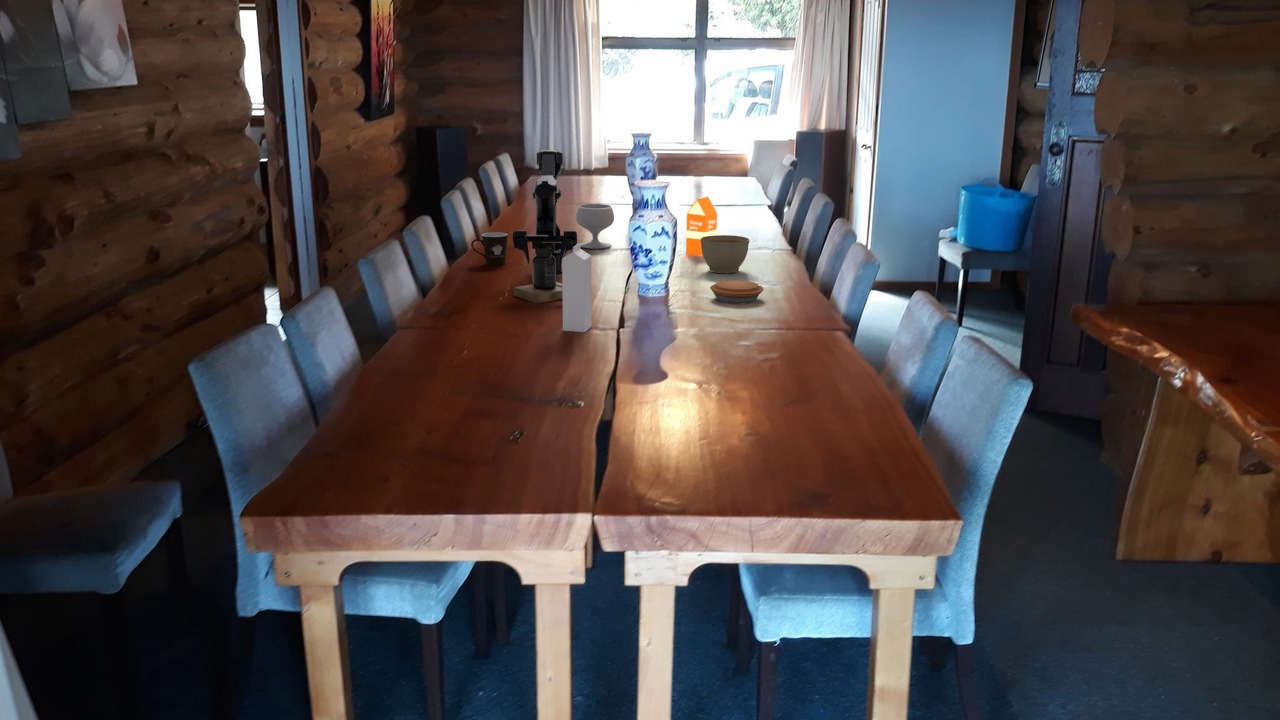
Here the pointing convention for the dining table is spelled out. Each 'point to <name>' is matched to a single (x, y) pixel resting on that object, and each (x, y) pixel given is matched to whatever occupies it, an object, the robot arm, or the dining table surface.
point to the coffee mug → (493, 248)
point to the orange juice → (700, 224)
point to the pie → (736, 291)
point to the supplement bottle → (544, 268)
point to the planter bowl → (724, 252)
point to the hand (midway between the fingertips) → (544, 263)
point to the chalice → (595, 222)
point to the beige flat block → (539, 293)
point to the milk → (576, 290)
